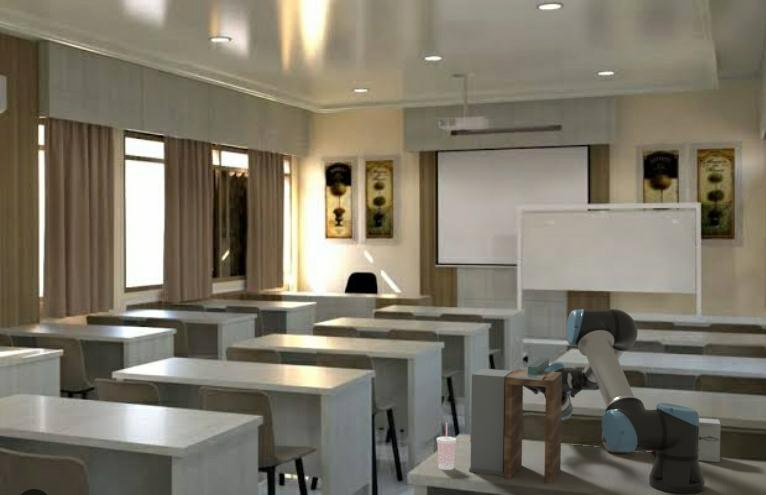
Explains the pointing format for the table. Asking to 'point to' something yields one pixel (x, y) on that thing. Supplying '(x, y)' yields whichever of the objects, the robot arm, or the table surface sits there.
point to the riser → (515, 422)
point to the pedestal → (488, 421)
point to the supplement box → (709, 440)
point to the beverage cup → (446, 452)
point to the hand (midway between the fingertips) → (547, 375)
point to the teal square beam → (535, 370)
